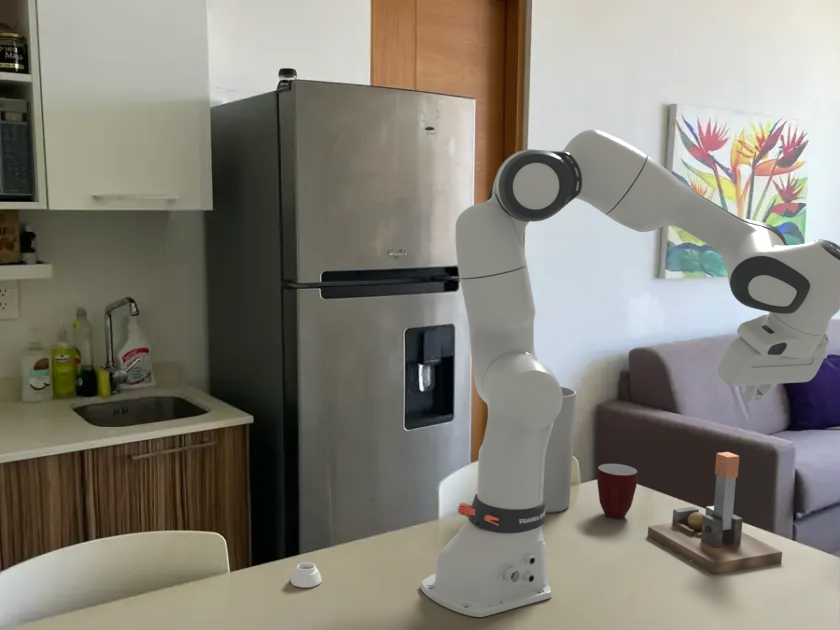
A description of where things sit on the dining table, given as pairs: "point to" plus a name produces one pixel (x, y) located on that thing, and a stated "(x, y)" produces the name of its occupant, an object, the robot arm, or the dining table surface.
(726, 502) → the lever
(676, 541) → the bench
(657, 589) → the dining table surface
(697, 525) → the walnut
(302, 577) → the lidless jar
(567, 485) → the cylinder vase
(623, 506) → the mug
